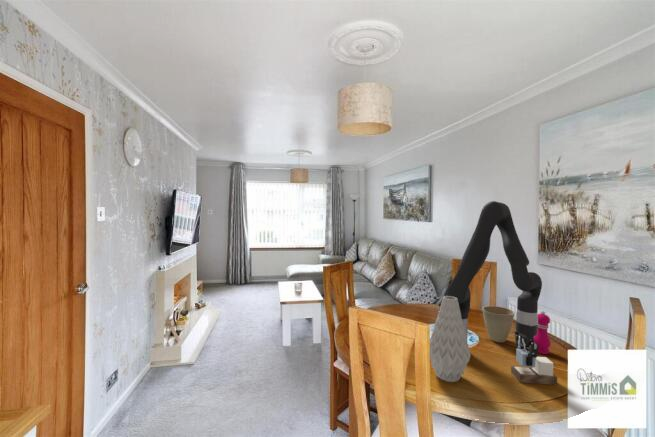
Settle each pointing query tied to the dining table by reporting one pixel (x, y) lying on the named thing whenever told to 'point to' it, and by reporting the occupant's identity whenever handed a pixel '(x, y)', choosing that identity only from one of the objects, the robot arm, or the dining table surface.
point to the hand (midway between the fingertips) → (525, 362)
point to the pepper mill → (542, 334)
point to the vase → (449, 342)
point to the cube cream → (543, 366)
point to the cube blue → (523, 358)
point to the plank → (532, 376)
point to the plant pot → (498, 322)
